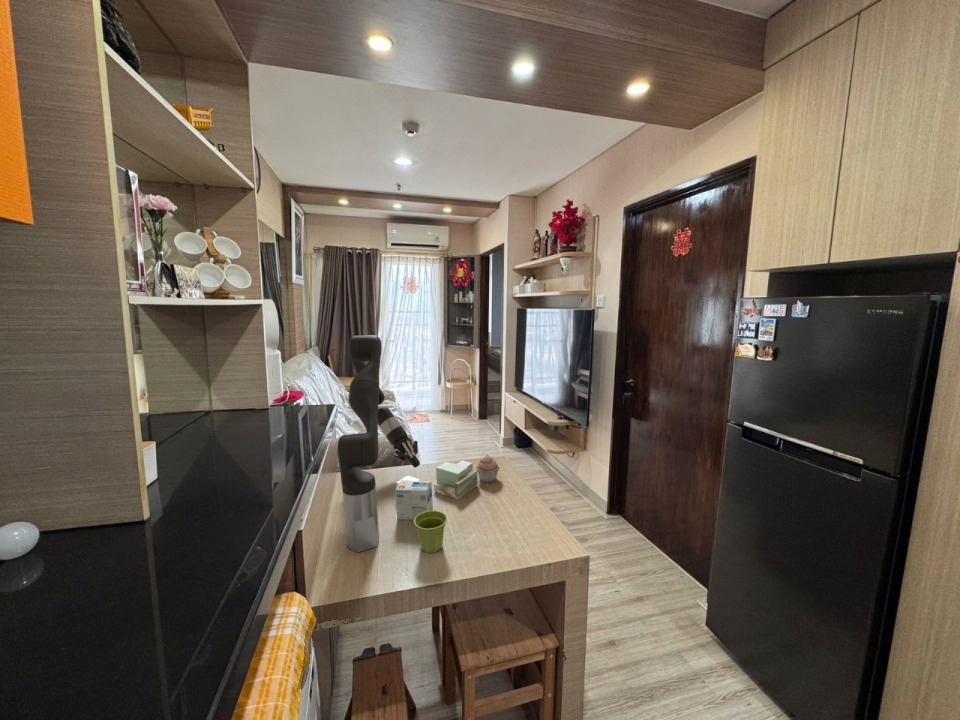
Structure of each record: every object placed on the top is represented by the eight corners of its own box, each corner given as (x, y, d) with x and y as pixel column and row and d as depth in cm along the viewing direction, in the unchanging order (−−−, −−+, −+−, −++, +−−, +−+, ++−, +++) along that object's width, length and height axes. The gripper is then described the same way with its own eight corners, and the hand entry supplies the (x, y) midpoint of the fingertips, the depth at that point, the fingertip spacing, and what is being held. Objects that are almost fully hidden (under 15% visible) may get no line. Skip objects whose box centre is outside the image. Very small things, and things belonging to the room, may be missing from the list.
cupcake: (493, 471, 161) (492, 448, 159) (504, 481, 153) (503, 456, 151) (471, 476, 157) (471, 452, 155) (482, 486, 149) (481, 461, 147)
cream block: (420, 495, 144) (420, 479, 143) (409, 502, 139) (408, 486, 138) (408, 490, 147) (407, 475, 146) (396, 497, 142) (395, 482, 141)
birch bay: (477, 485, 150) (477, 470, 149) (458, 500, 140) (458, 484, 139) (453, 478, 156) (453, 464, 154) (434, 491, 146) (433, 476, 145)
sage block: (468, 487, 149) (467, 467, 147) (458, 494, 144) (458, 473, 142) (446, 480, 154) (445, 461, 153) (436, 487, 149) (436, 467, 148)
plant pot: (418, 536, 120) (417, 510, 118) (449, 536, 120) (448, 510, 118) (412, 557, 111) (410, 529, 109) (446, 557, 110) (445, 529, 109)
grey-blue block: (472, 474, 159) (472, 463, 158) (465, 479, 155) (465, 467, 154) (462, 471, 161) (462, 460, 160) (455, 476, 157) (454, 465, 156)
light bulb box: (433, 509, 134) (432, 480, 132) (429, 521, 128) (427, 490, 126) (402, 508, 135) (400, 479, 133) (396, 520, 129) (394, 489, 127)
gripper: (385, 431, 154) (410, 468, 150) (409, 421, 165) (433, 455, 161) (377, 441, 158) (401, 477, 154) (400, 430, 169) (424, 464, 165)
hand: (417, 466), depth 157 cm, fingers closed
